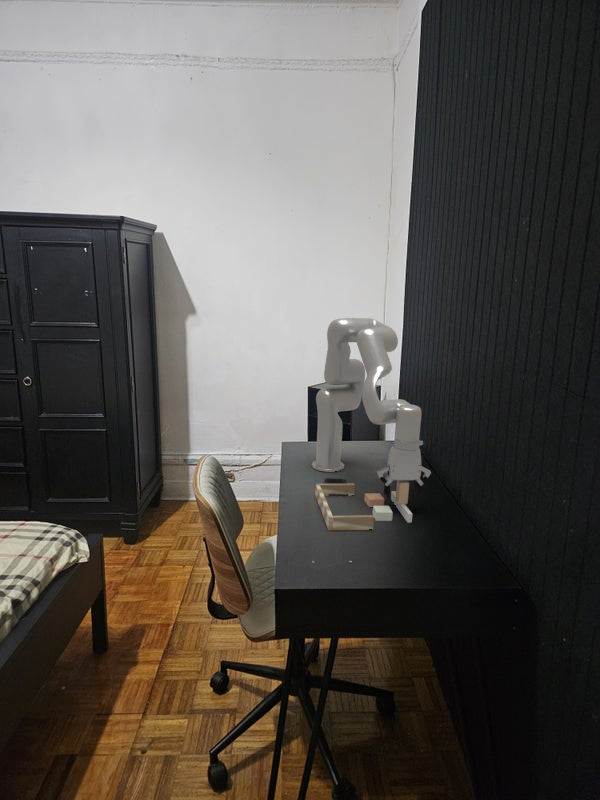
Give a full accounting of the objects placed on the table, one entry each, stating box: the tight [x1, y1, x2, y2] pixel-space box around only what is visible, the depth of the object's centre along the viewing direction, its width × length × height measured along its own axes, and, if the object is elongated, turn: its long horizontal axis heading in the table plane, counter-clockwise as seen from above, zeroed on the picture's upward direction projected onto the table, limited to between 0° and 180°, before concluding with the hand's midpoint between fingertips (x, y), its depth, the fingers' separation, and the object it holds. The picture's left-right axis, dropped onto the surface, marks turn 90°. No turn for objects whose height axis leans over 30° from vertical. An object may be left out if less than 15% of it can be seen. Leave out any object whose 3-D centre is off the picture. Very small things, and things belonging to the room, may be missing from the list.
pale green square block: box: [372, 505, 394, 522], centre depth 165 cm, size 5×5×3 cm
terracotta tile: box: [363, 492, 385, 508], centre depth 174 cm, size 5×5×3 cm
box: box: [314, 483, 375, 531], centre depth 168 cm, size 26×13×4 cm, turn 7°
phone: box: [323, 478, 349, 498], centre depth 187 cm, size 8×1×15 cm
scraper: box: [390, 480, 413, 524], centre depth 170 cm, size 18×3×10 cm, turn 7°
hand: (401, 496), depth 170 cm, fingers open, 9 cm apart
